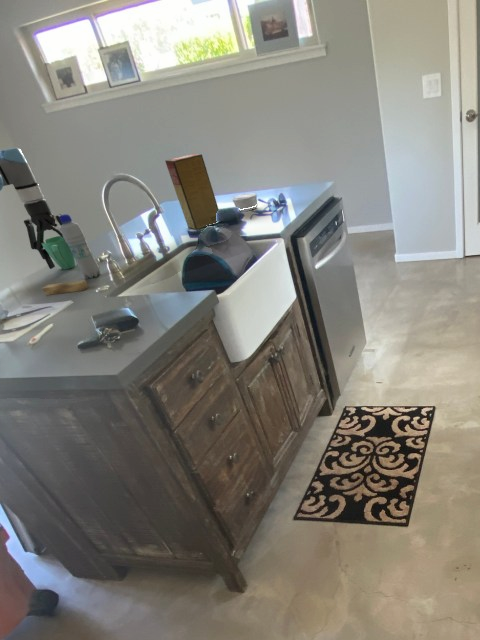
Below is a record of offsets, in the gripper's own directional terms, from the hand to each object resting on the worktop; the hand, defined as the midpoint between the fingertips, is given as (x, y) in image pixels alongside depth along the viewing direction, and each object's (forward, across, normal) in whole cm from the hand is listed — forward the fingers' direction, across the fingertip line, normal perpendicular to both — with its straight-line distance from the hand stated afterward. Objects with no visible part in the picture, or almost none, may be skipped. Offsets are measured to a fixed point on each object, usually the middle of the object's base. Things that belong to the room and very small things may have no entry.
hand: (67, 265), depth 198 cm
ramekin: (+1, -58, -63) cm, 86 cm away
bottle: (+1, -17, +15) cm, 23 cm away
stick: (+1, -14, +29) cm, 32 cm away
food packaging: (+1, -43, -43) cm, 61 cm away
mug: (+1, 0, 0) cm, 1 cm away
